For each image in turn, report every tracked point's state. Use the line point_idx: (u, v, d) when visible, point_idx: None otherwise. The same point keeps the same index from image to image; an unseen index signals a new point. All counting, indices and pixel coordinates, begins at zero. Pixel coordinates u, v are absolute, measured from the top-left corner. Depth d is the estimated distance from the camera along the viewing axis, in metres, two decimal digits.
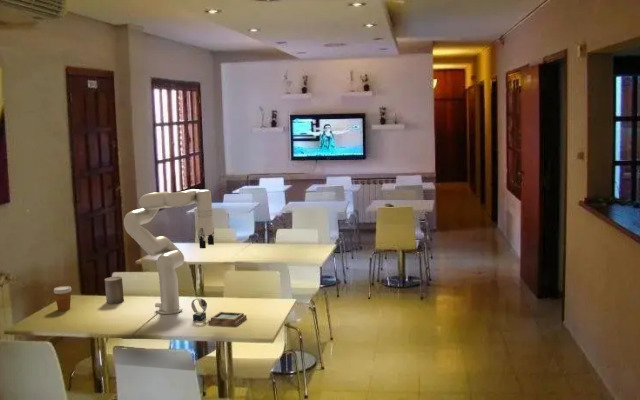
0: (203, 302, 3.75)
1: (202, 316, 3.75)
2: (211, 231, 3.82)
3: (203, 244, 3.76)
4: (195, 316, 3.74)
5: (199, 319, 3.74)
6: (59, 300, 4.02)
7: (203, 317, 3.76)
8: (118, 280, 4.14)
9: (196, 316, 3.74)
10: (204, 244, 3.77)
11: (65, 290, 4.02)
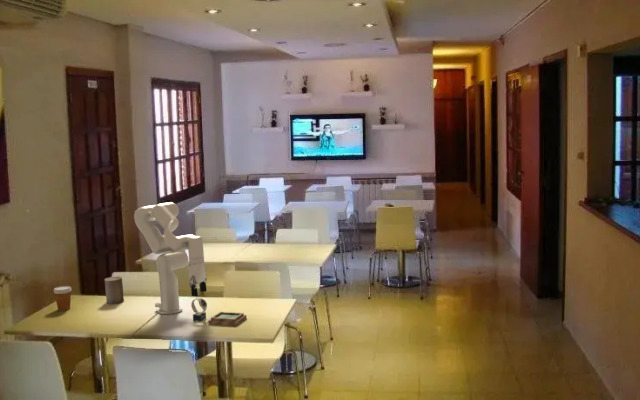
0: (203, 302, 3.75)
1: (202, 316, 3.75)
2: (203, 278, 3.75)
3: (195, 292, 3.69)
4: (195, 316, 3.74)
5: (199, 319, 3.74)
6: (59, 300, 4.02)
7: (203, 317, 3.76)
8: (118, 280, 4.14)
9: (196, 316, 3.74)
10: (196, 292, 3.69)
11: (65, 290, 4.02)
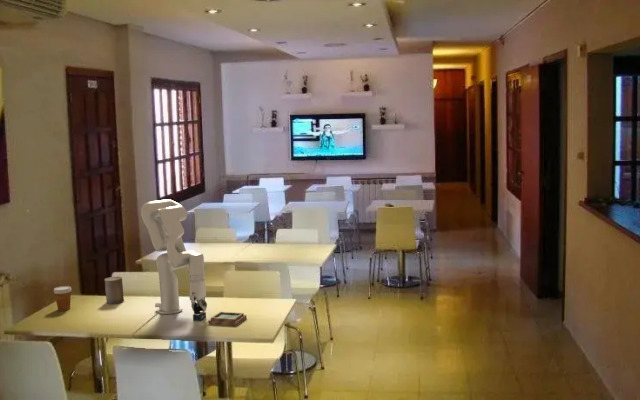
0: (203, 302, 3.75)
1: (202, 316, 3.75)
2: (204, 294, 3.77)
3: (197, 310, 3.73)
4: (195, 316, 3.74)
5: (199, 319, 3.74)
6: (59, 300, 4.02)
7: (203, 317, 3.76)
8: (118, 280, 4.14)
9: (196, 316, 3.74)
10: (198, 310, 3.73)
11: (65, 290, 4.02)
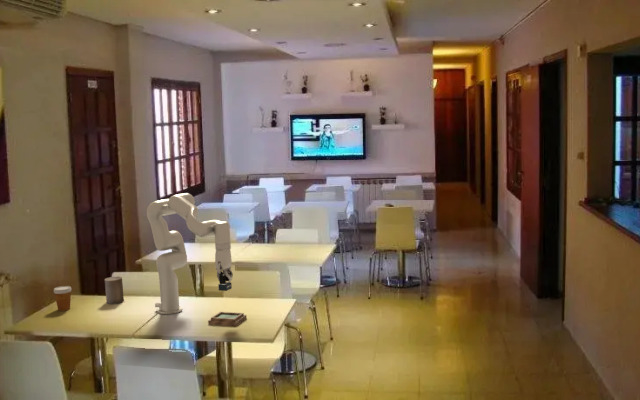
0: (229, 271, 3.67)
1: (227, 286, 3.67)
2: (229, 264, 3.69)
3: (223, 279, 3.65)
4: (221, 286, 3.67)
5: (225, 289, 3.66)
6: (59, 300, 4.02)
7: (228, 287, 3.68)
8: (118, 280, 4.14)
9: (222, 286, 3.66)
10: (224, 279, 3.65)
11: (65, 290, 4.02)
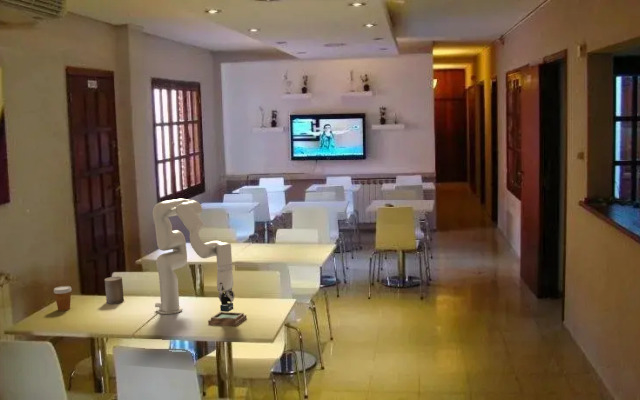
0: (230, 292, 3.69)
1: (229, 307, 3.68)
2: (231, 285, 3.70)
3: (225, 300, 3.66)
4: (222, 307, 3.68)
5: (227, 310, 3.67)
6: (59, 300, 4.02)
7: (230, 308, 3.69)
8: (118, 280, 4.14)
9: (223, 307, 3.68)
10: (226, 300, 3.67)
11: (65, 290, 4.02)
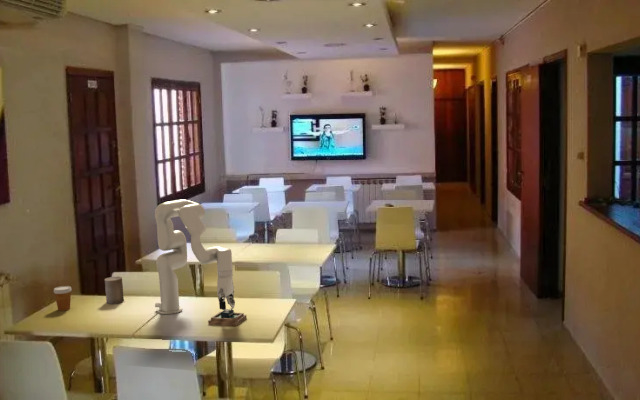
0: (231, 299, 3.69)
1: (230, 314, 3.69)
2: (231, 291, 3.70)
3: (223, 305, 3.65)
4: (223, 313, 3.69)
5: (227, 317, 3.68)
6: (59, 300, 4.02)
7: (231, 315, 3.70)
8: (118, 280, 4.14)
9: (224, 313, 3.68)
10: (224, 305, 3.65)
11: (65, 290, 4.02)
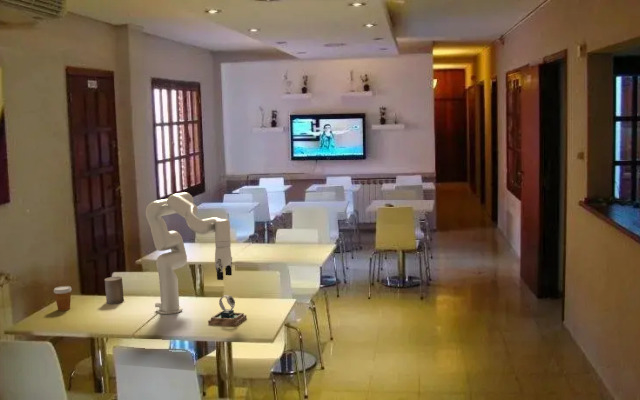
0: (231, 299, 3.69)
1: (230, 314, 3.69)
2: (229, 262, 3.70)
3: (221, 275, 3.64)
4: (223, 313, 3.69)
5: (227, 317, 3.68)
6: (59, 300, 4.02)
7: (231, 315, 3.70)
8: (118, 280, 4.14)
9: (224, 313, 3.68)
10: (222, 275, 3.64)
11: (65, 290, 4.02)
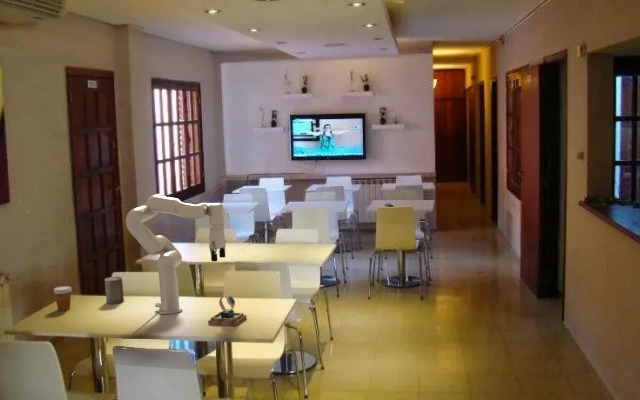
0: (231, 299, 3.69)
1: (230, 314, 3.69)
2: (223, 244, 3.86)
3: (215, 257, 3.80)
4: (223, 313, 3.69)
5: (227, 317, 3.68)
6: (59, 300, 4.02)
7: (231, 315, 3.70)
8: (118, 280, 4.14)
9: (224, 313, 3.68)
10: (216, 257, 3.81)
11: (65, 290, 4.02)
